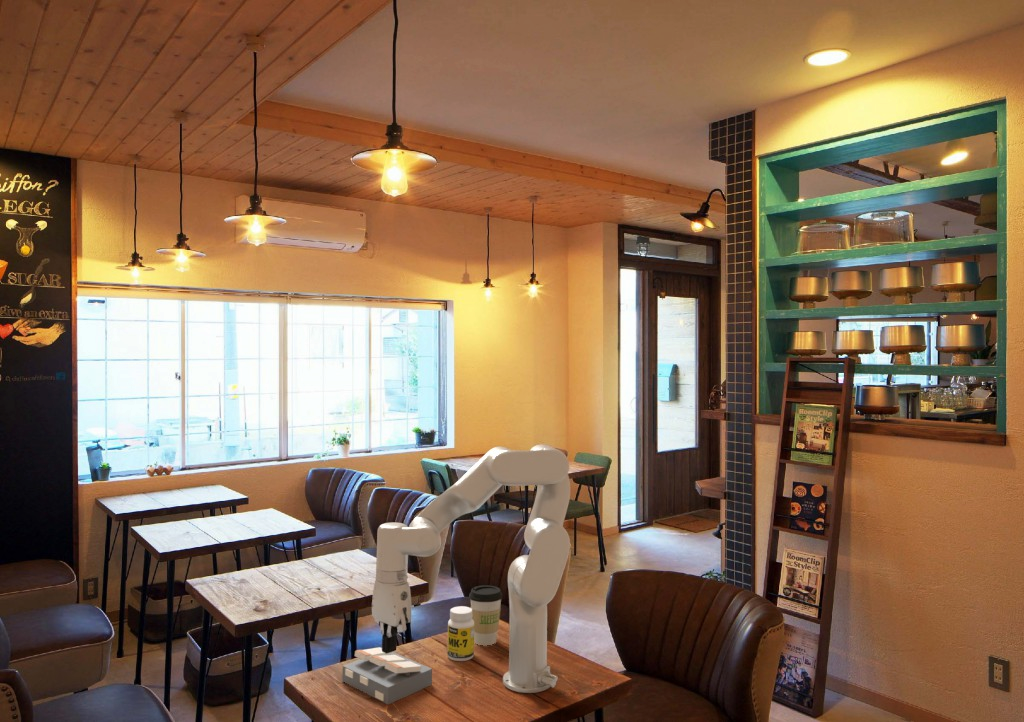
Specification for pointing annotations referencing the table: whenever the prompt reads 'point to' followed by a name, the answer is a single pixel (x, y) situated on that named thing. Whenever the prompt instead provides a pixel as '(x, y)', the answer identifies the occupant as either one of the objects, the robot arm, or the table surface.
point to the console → (385, 680)
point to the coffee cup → (485, 613)
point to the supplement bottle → (460, 634)
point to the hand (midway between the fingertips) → (389, 651)
